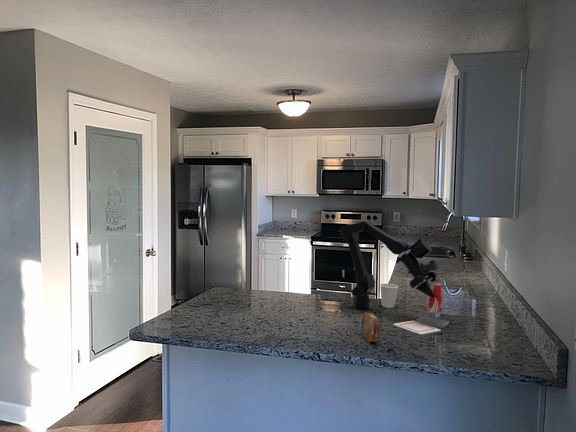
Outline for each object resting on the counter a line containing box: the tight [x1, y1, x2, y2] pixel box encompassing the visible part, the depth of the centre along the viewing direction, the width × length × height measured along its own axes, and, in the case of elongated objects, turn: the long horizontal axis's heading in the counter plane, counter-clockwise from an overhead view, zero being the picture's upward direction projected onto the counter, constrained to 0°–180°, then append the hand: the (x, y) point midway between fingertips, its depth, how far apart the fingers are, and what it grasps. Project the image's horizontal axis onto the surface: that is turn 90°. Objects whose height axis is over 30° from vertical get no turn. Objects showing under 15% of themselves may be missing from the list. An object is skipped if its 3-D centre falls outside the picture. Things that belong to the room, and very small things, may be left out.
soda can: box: [423, 281, 444, 314], centre depth 187 cm, size 7×7×12 cm
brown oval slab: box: [361, 312, 381, 343], centre depth 163 cm, size 15×3×8 cm, turn 5°
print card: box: [392, 320, 442, 335], centre depth 180 cm, size 14×12×1 cm
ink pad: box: [415, 315, 450, 329], centre depth 187 cm, size 11×8×1 cm
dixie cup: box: [379, 283, 399, 309], centre depth 212 cm, size 8×8×10 cm
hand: (437, 296), depth 186 cm, fingers closed on soda can, 7 cm apart
